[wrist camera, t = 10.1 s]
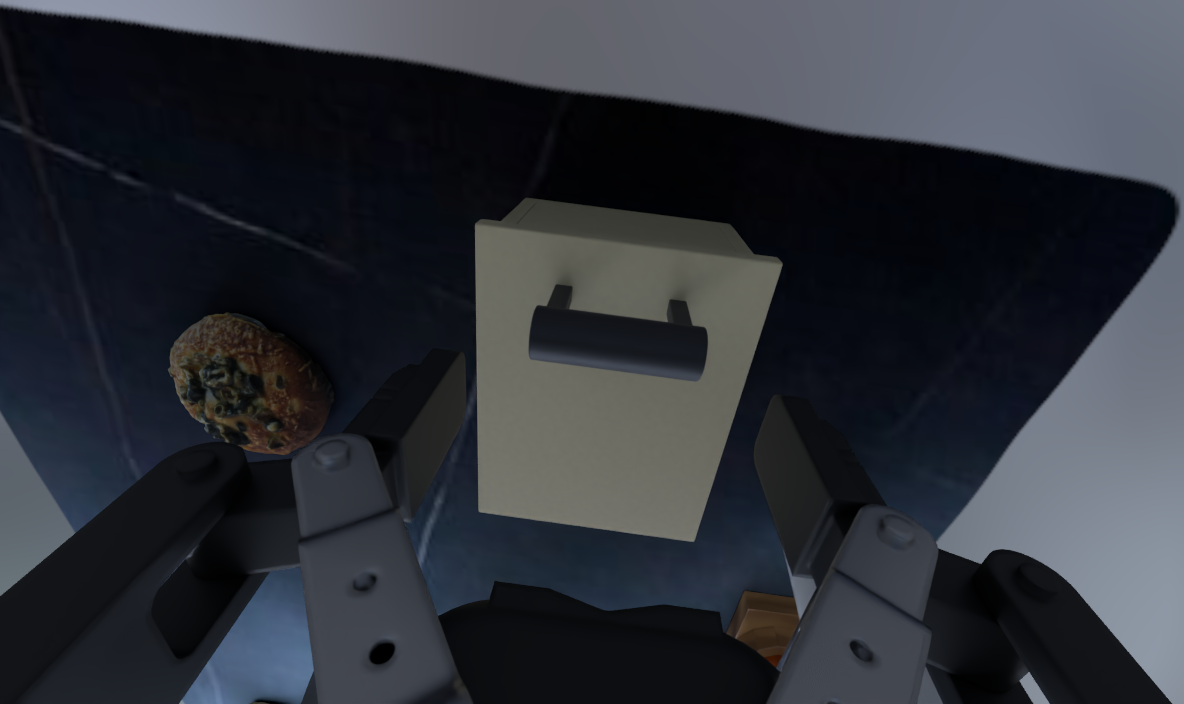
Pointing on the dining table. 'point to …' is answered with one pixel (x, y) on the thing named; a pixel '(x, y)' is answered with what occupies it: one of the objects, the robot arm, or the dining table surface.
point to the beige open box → (627, 224)
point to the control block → (764, 622)
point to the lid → (609, 374)
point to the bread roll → (250, 384)
